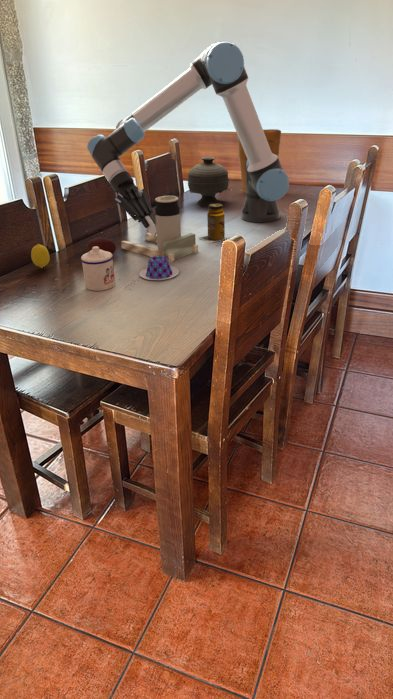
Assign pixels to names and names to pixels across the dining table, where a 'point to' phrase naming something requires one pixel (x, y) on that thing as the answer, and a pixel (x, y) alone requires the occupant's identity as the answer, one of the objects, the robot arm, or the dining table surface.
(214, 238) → the condiment
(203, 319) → the dining table surface
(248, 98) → the robot arm
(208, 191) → the pot
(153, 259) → the pudding
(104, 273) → the teacup with lid
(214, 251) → the dining table surface
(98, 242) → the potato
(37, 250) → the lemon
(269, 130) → the pancake mix bag
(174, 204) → the travel mug
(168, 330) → the dining table surface
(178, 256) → the rail channel
